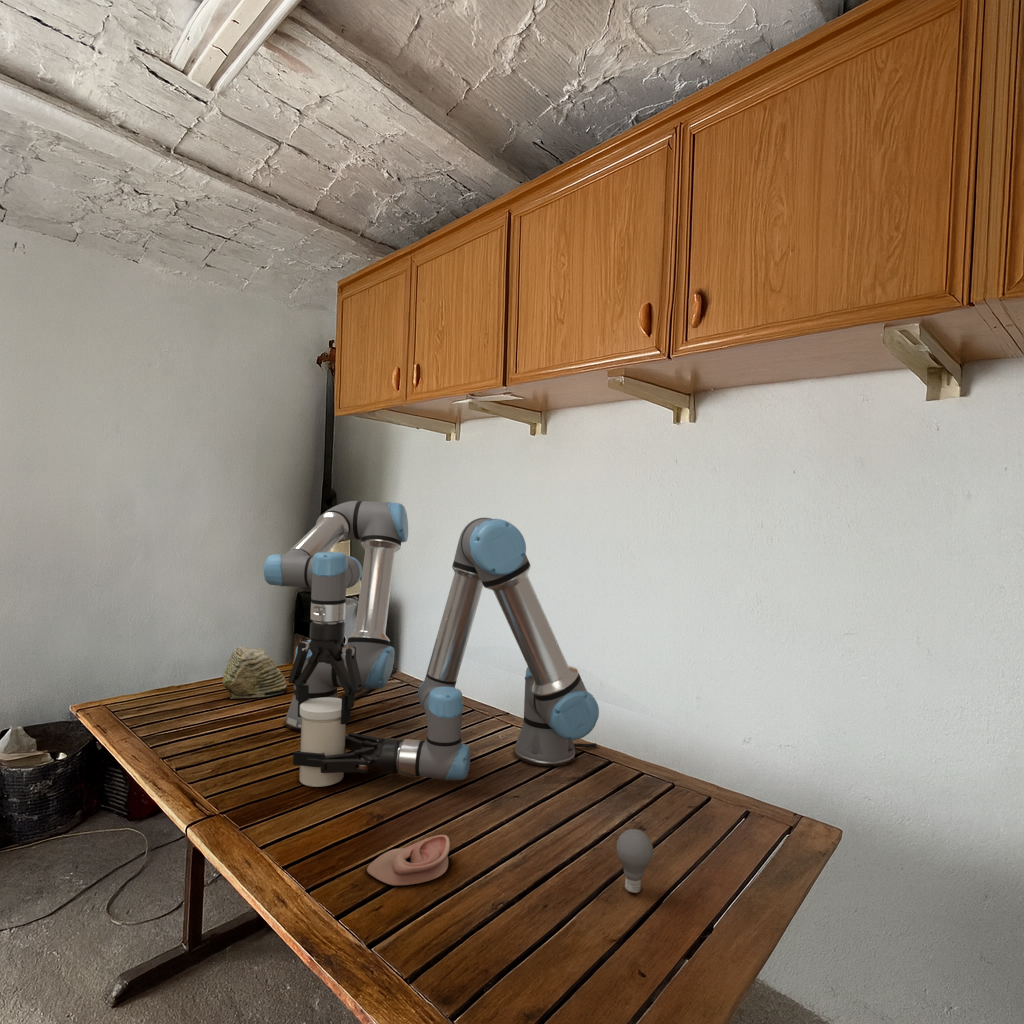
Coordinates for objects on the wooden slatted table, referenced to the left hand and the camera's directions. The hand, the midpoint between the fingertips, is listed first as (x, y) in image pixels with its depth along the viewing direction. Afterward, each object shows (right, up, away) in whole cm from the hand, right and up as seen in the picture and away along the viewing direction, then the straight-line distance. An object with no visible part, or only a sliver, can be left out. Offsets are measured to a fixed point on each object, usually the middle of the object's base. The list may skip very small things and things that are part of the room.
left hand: (323, 718), depth 143 cm
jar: (-1, -13, 0) cm, 13 cm away
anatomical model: (+25, -15, -33) cm, 44 cm away
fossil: (-38, -11, +55) cm, 68 cm away
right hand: (-5, -7, +1) cm, 8 cm away
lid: (0, +3, 0) cm, 3 cm away
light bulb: (+63, -17, -37) cm, 75 cm away
